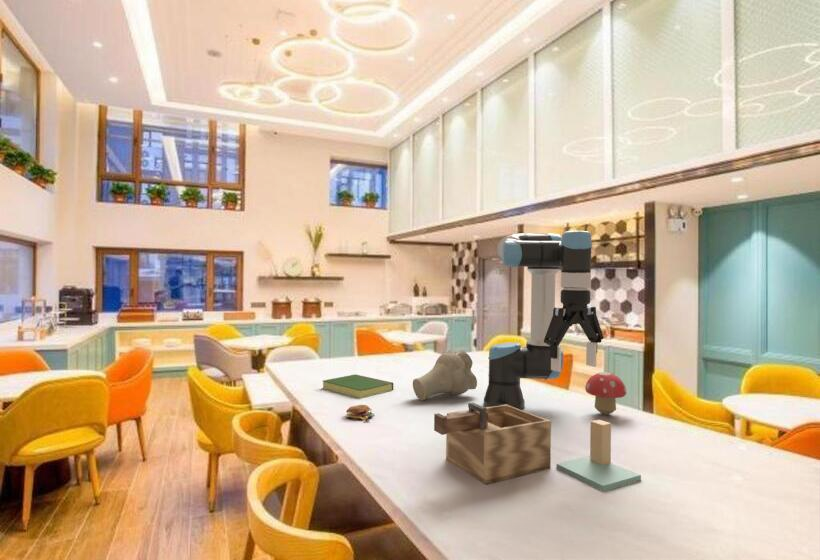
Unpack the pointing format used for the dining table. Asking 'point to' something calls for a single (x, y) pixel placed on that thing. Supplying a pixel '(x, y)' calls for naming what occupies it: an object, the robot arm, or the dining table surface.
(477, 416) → the block
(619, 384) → the decorative mushroom
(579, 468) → the lid
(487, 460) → the toolbox
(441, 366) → the beige knobby lump
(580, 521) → the dining table surface
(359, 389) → the hardcover book
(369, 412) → the hamburger
